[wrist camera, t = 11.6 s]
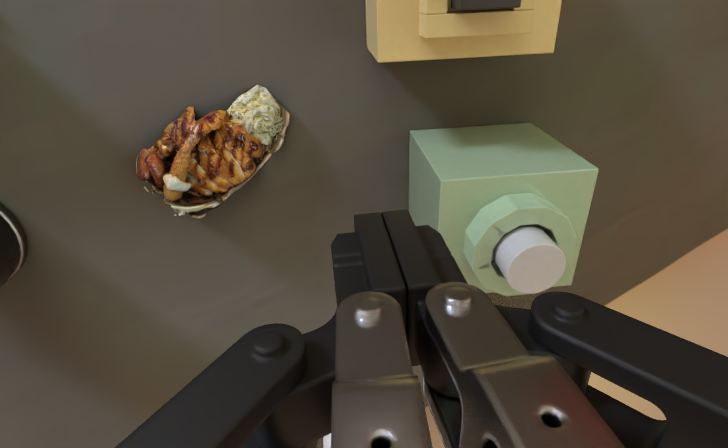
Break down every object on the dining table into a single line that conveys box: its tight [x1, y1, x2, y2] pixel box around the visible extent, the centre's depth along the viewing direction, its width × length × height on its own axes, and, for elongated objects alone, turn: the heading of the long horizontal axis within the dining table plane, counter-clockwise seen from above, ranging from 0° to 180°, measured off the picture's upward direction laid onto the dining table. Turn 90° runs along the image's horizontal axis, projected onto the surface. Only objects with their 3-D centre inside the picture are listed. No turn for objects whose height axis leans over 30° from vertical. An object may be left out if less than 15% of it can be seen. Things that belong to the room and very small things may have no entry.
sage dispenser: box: [409, 123, 599, 296], centre depth 33 cm, size 10×9×12 cm
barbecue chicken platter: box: [136, 85, 290, 219], centre depth 33 cm, size 7×12×4 cm, turn 130°
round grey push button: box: [494, 226, 566, 294], centre depth 27 cm, size 4×4×2 cm
